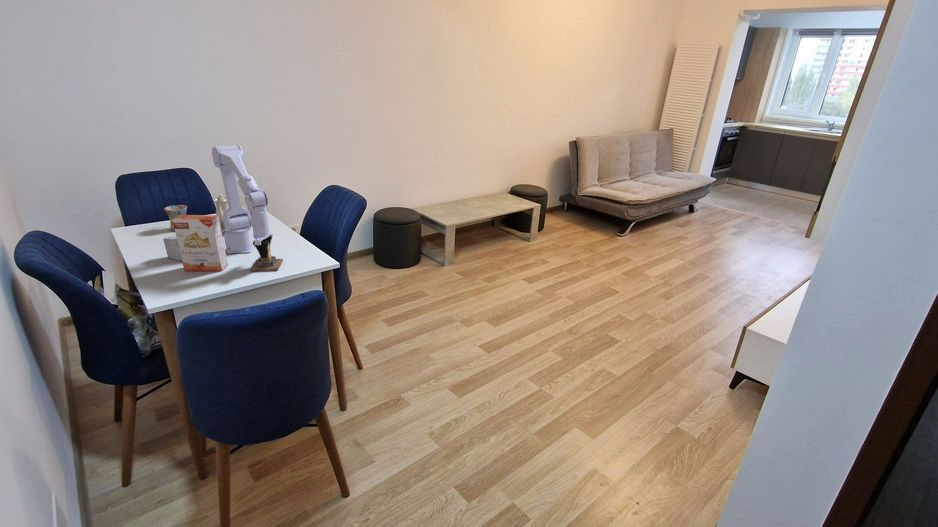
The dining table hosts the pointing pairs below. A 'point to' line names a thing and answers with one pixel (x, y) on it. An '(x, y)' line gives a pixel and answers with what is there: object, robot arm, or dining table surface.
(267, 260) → the wick block
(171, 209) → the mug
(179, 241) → the cracker box
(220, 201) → the chinaware
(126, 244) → the dining table surface
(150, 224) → the dining table surface
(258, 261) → the clip stand
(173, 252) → the medicine box
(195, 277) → the dining table surface
